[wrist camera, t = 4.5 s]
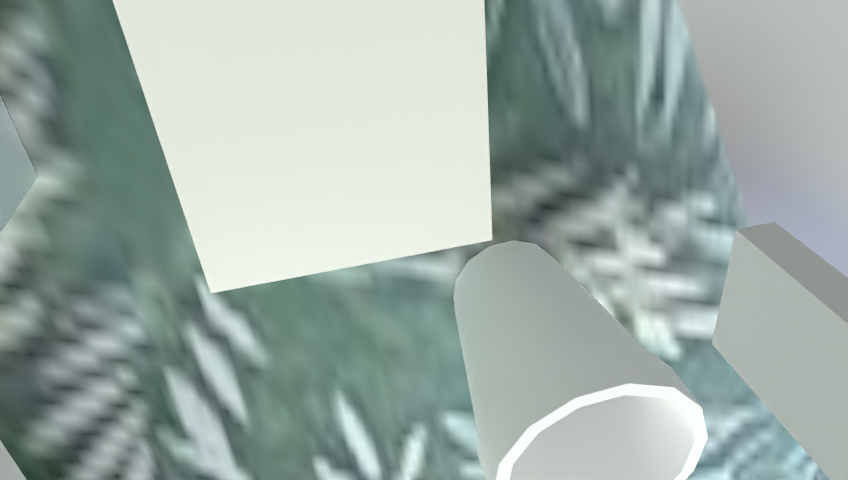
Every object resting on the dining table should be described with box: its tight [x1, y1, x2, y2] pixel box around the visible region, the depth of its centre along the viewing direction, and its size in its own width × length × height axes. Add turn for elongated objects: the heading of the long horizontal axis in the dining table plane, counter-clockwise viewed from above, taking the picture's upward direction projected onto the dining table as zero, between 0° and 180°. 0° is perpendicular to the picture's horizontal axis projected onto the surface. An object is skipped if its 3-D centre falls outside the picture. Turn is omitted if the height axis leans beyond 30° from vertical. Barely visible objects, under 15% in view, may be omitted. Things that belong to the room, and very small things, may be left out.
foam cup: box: [453, 240, 708, 480], centre depth 32 cm, size 10×9×13 cm
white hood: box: [113, 0, 492, 293], centre depth 24 cm, size 10×10×10 cm
